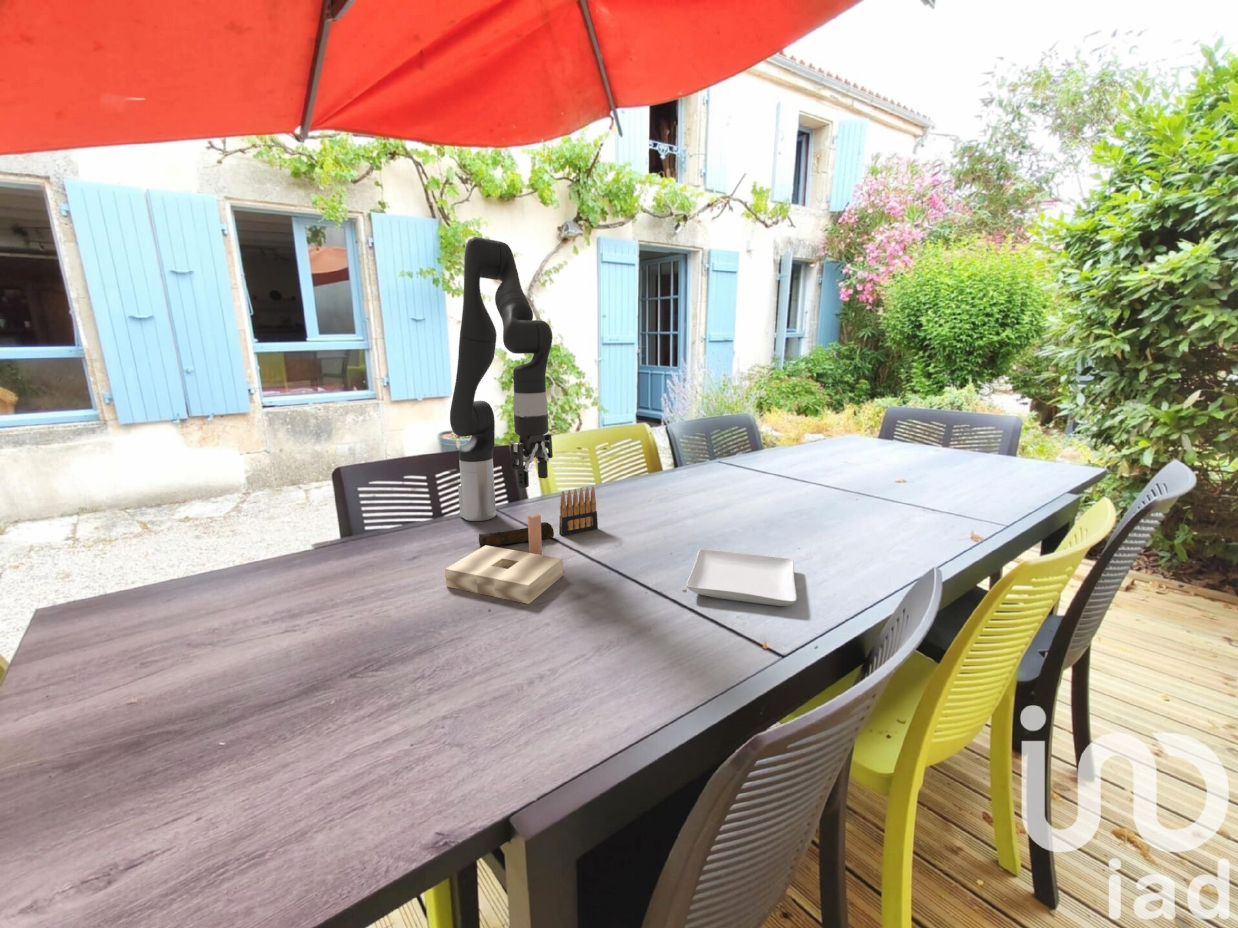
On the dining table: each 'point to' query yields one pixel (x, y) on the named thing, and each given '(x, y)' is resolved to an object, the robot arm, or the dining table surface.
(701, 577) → the salad plate
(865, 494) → the dining table surface
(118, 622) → the dining table surface
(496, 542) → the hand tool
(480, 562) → the hole block
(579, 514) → the ammunition clip
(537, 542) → the peg
